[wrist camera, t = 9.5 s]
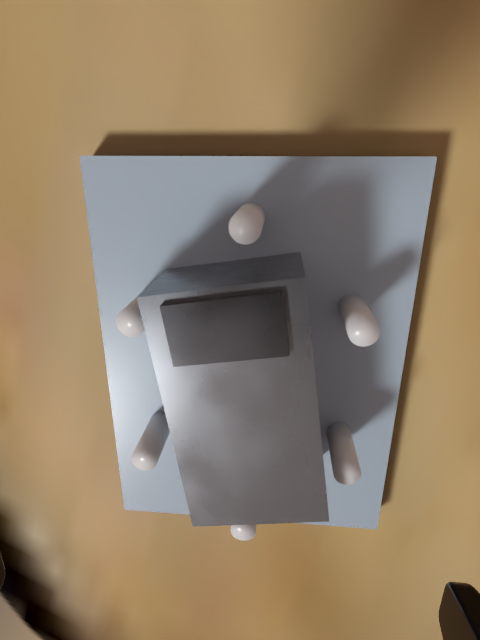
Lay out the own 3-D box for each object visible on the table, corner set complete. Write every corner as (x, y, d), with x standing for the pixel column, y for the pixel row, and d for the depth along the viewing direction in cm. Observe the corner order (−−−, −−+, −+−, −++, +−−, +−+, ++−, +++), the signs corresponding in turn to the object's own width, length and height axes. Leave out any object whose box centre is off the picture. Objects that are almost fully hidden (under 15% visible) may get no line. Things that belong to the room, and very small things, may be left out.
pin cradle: (372, 512, 20) (390, 580, 17) (131, 494, 21) (103, 554, 18) (426, 156, 14) (470, 155, 11) (92, 156, 15) (40, 154, 12)
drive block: (320, 456, 18) (330, 525, 15) (208, 462, 19) (191, 530, 15) (300, 251, 15) (306, 279, 11) (167, 268, 16) (134, 299, 12)
